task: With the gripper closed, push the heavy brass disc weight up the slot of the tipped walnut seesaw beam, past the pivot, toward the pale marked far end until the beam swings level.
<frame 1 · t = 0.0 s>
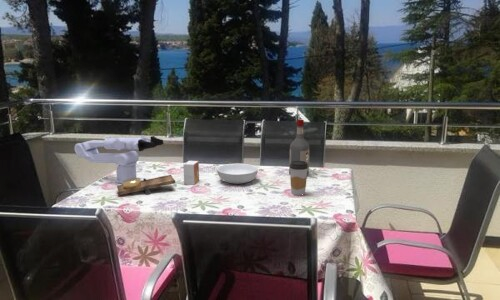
hand: (158, 143, 206), 22 cm above the table, tool horizontal, fingers open, 7 cm apart
beam: (146, 184, 204), point 3 cm above the table, hinge at -6.6°, touching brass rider
beam stand: (146, 190, 205), on the table
serving bowl: (237, 181, 221), on the table
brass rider: (132, 186, 202), point 3 cm above the table, tilted 7°, touching beam
liquor: (298, 175, 232), on the table
small box: (191, 182, 219), on the table
coffee cup: (298, 194, 200), on the table
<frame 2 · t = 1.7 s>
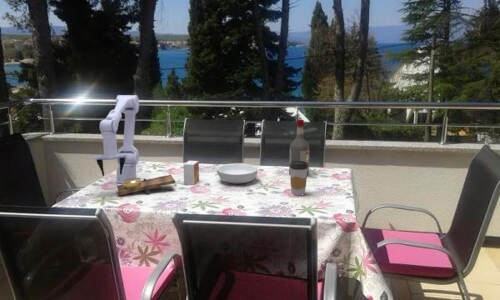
hand: (112, 174, 198), 9 cm above the table, tool pointing down, fingers open, 7 cm apart
nothing on the table moved.
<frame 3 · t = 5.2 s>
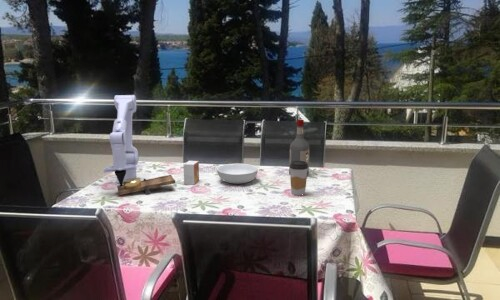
hand: (121, 185, 200), 4 cm above the table, tool pointing down, fingers closed
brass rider: (132, 186, 202), point 3 cm above the table, tilted 7°, touching beam, gripper
everything else where it was.
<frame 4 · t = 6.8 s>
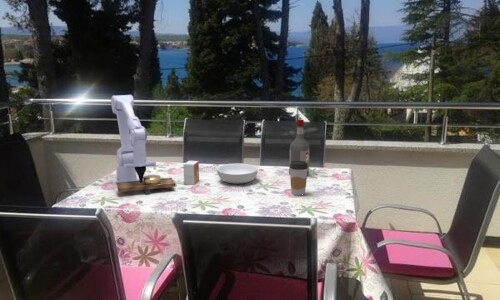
hand: (141, 182, 203), 5 cm above the table, tool pointing down, fingers closed
beam: (146, 184, 204), point 3 cm above the table, hinge at 0.4°
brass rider: (152, 183, 205), point 4 cm above the table, touching gripper
everything else where it was.
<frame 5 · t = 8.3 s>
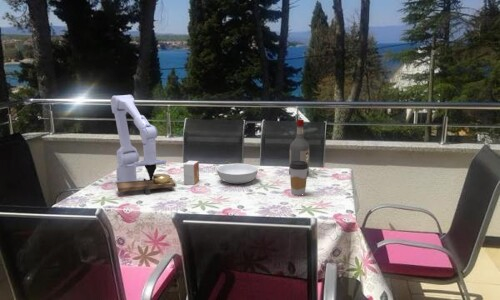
hand: (151, 180, 205), 5 cm above the table, tool pointing down, fingers closed
beam: (146, 184, 204), point 3 cm above the table, hinge at 0.7°, touching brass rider
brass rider: (161, 181, 206), point 4 cm above the table, tilted 5°, touching beam, gripper
everything else where it was.
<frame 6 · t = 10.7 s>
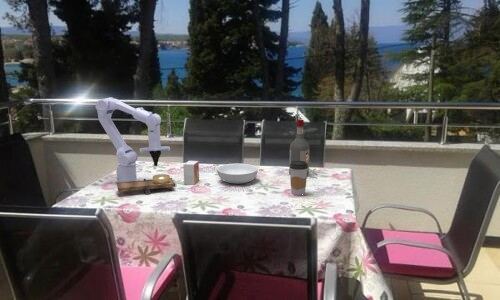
hand: (155, 165, 214), 9 cm above the table, tool pointing down, fingers closed
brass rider: (161, 182, 206), point 4 cm above the table, touching beam
everything else where it was.
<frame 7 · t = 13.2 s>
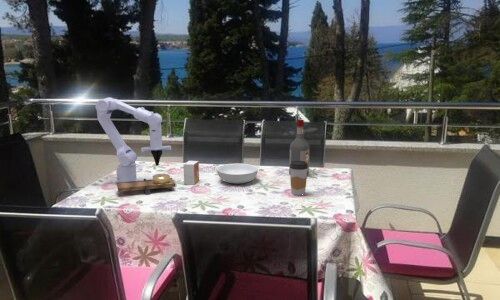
hand: (157, 165, 216), 9 cm above the table, tool pointing down, fingers closed
nothing on the table moved.
at the end: beam at +1° (first picture: -7°); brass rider inside the target area on the beam (0.9 cm from its centre), point 0.6 cm above the beam's base; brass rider tilted 3° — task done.
